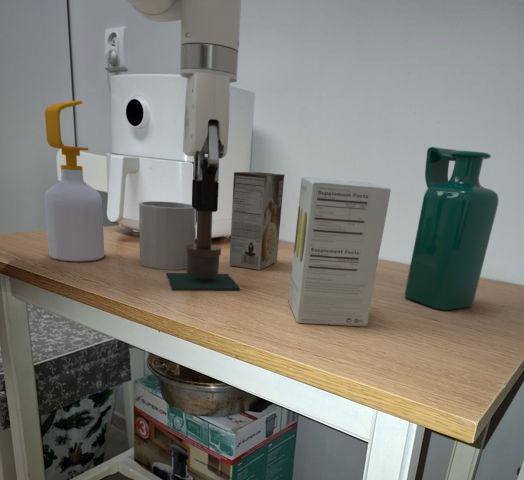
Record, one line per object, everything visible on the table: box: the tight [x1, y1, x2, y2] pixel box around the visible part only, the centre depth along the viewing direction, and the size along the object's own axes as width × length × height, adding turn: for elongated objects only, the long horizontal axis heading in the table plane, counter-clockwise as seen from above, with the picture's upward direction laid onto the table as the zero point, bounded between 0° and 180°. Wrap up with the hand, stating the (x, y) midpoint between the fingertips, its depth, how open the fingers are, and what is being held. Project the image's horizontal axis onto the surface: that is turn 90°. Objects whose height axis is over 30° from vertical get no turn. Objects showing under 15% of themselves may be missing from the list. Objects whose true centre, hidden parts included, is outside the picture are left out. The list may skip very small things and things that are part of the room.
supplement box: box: [288, 176, 392, 328], centre depth 62 cm, size 10×9×17 cm
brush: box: [186, 210, 222, 277], centre depth 72 cm, size 5×5×15 cm
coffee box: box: [228, 171, 285, 271], centre depth 88 cm, size 9×6×16 cm
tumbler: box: [138, 200, 197, 271], centre depth 84 cm, size 9×9×10 cm
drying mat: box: [166, 272, 241, 291], centre depth 75 cm, size 10×9×1 cm
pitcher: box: [404, 146, 499, 311], centre depth 72 cm, size 10×8×22 cm
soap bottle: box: [43, 100, 105, 263], centre depth 80 cm, size 9×9×25 cm
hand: (204, 208), depth 71 cm, fingers closed on brush
